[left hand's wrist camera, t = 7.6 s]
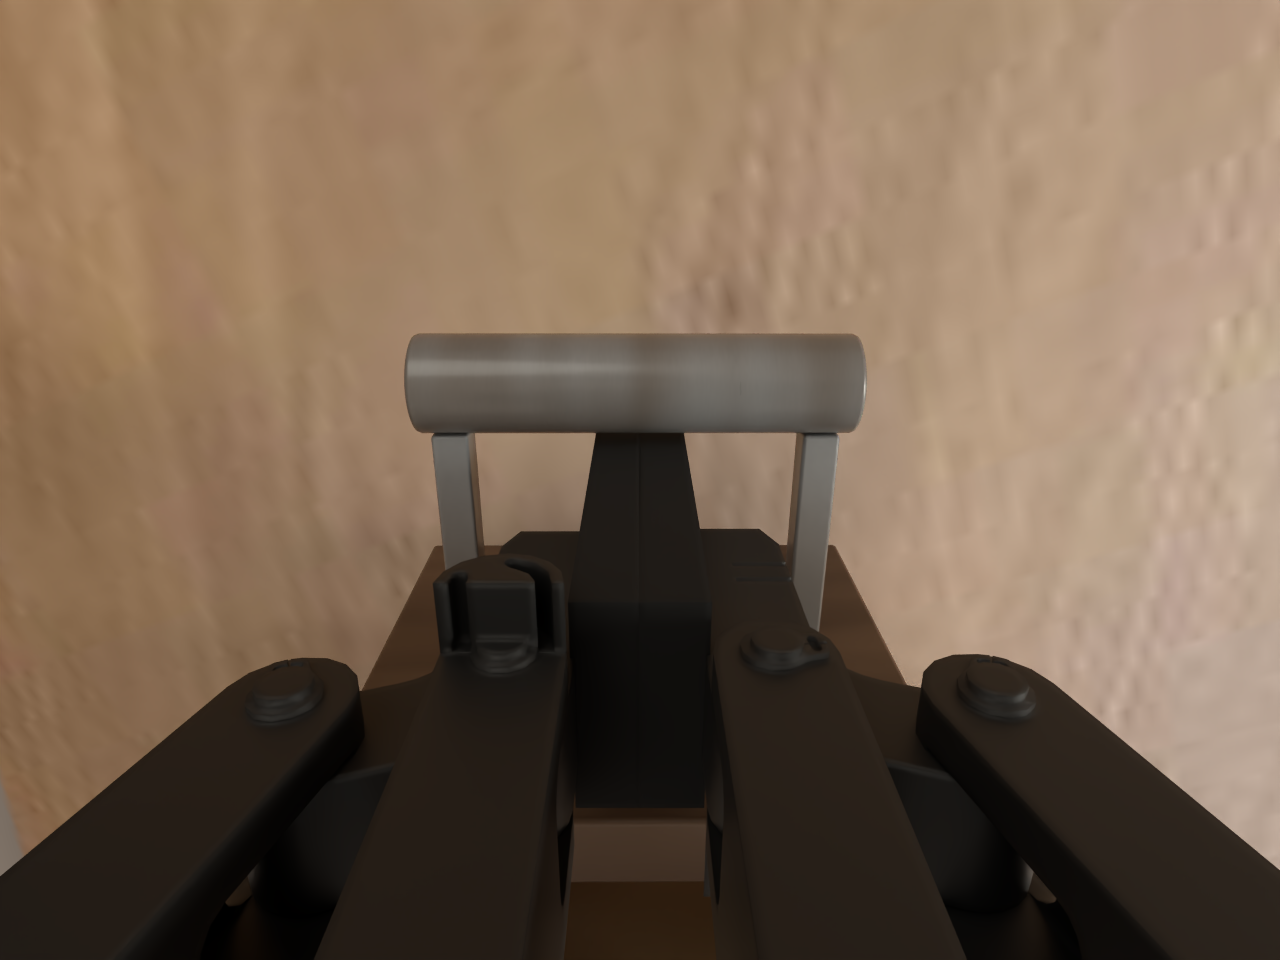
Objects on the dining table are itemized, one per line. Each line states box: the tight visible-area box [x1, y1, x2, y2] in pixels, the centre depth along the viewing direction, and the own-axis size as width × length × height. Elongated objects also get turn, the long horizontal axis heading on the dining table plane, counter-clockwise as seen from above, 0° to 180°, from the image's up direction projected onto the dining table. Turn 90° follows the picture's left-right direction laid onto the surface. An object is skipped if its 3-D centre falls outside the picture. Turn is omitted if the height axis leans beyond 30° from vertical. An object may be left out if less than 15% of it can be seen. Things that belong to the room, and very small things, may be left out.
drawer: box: [362, 334, 907, 960], centre depth 16 cm, size 21×9×8 cm, turn 0°
